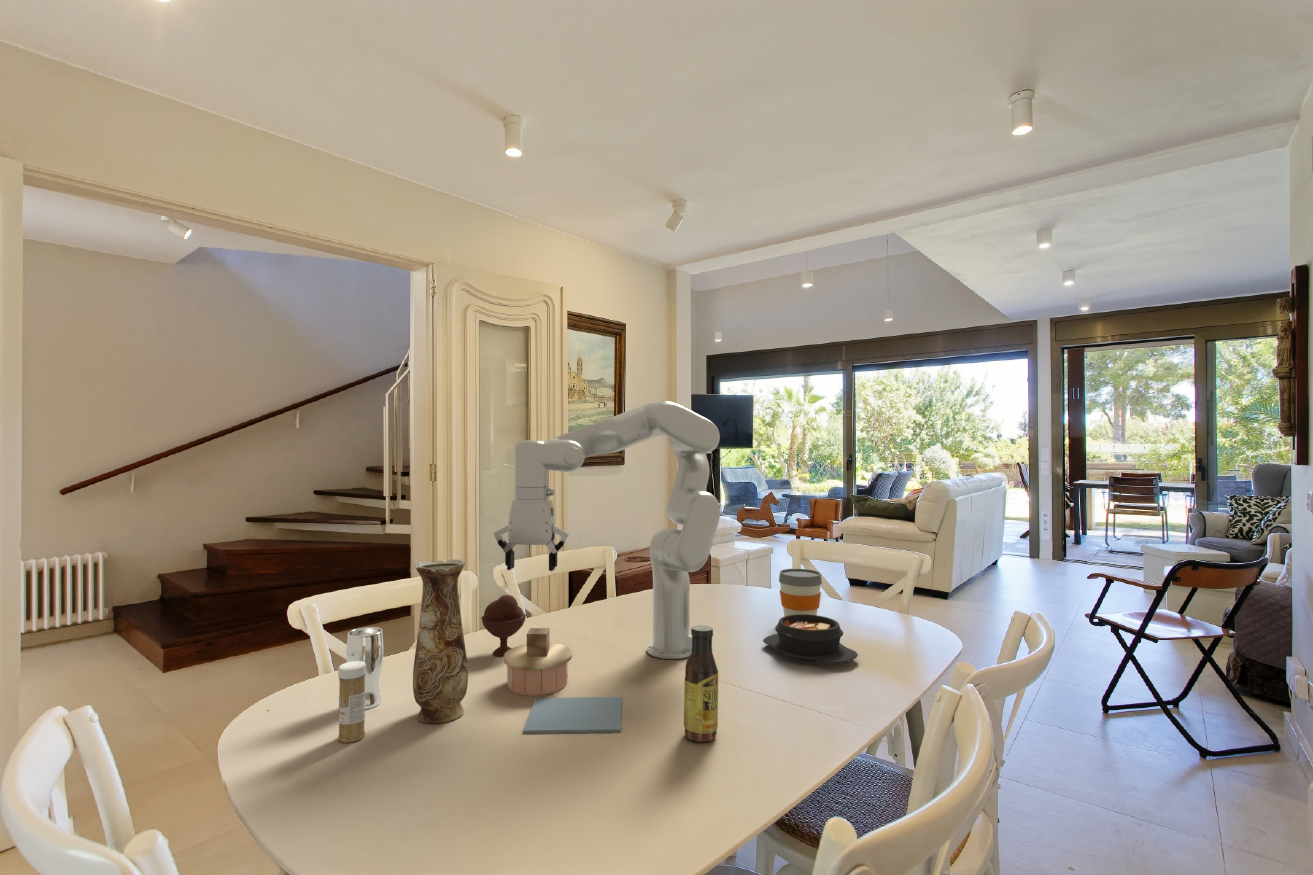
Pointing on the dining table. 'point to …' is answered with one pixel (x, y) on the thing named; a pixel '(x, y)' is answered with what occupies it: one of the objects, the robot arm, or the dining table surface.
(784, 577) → the reusable coffee cup
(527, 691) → the bowl
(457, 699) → the vase
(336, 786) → the dining table surface
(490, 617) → the ice cream bowl
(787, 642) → the casserole
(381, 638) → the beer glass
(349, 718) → the sprinkles bottle
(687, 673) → the sauce bottle
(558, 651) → the lid
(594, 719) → the mat
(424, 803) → the dining table surface
